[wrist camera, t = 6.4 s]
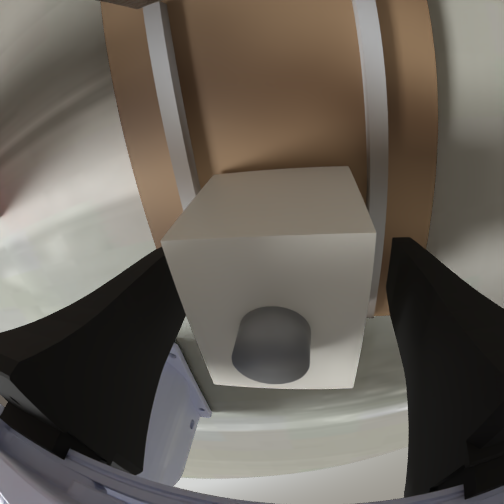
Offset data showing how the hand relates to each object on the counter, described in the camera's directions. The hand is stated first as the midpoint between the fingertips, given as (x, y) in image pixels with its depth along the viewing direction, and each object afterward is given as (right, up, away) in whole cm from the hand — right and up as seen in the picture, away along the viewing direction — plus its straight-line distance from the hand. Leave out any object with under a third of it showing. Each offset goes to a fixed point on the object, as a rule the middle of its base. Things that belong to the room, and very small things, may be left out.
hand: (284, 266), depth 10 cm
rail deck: (0, +6, -1) cm, 6 cm away
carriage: (0, +1, +1) cm, 1 cm away
